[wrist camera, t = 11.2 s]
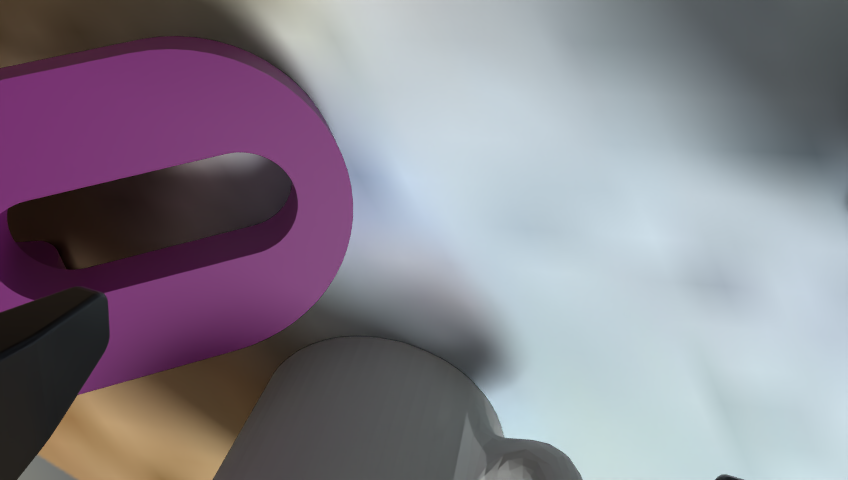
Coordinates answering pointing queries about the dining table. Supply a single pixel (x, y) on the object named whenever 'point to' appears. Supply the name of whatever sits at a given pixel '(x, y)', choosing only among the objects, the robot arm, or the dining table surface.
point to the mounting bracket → (161, 148)
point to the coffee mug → (380, 422)
